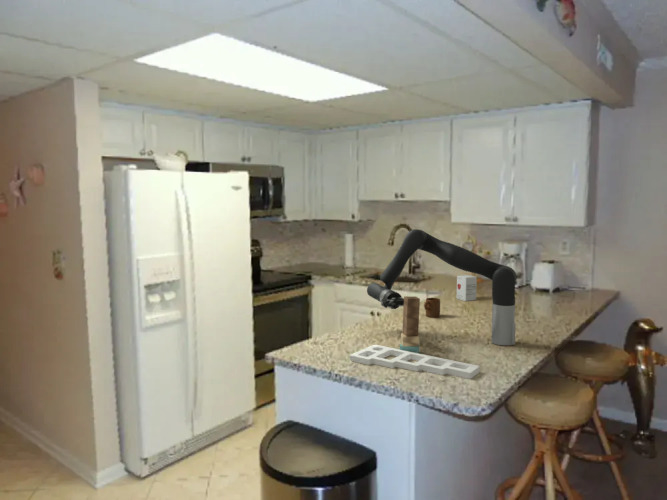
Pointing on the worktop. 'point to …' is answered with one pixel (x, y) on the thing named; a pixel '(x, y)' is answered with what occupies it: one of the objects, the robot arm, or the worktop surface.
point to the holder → (424, 363)
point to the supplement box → (466, 287)
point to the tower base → (410, 348)
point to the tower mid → (409, 340)
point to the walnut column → (411, 316)
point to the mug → (432, 307)
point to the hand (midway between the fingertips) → (405, 306)
